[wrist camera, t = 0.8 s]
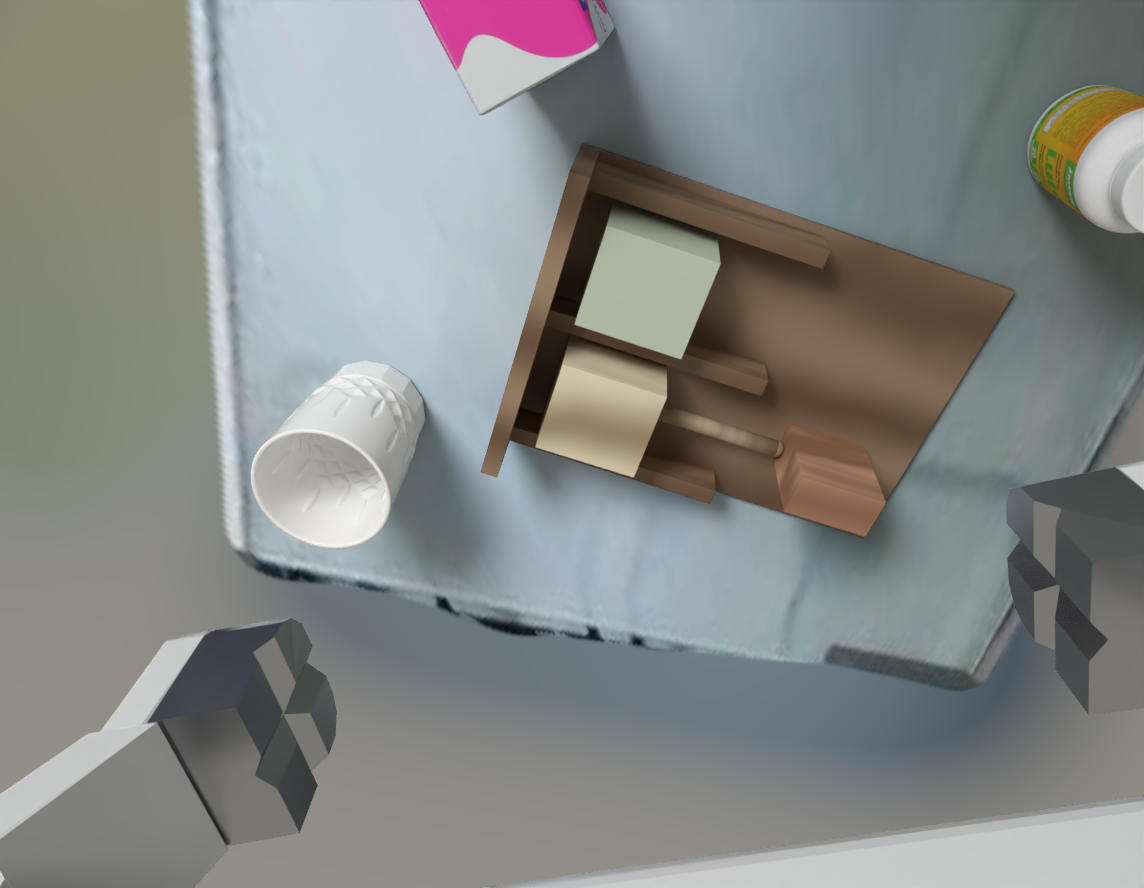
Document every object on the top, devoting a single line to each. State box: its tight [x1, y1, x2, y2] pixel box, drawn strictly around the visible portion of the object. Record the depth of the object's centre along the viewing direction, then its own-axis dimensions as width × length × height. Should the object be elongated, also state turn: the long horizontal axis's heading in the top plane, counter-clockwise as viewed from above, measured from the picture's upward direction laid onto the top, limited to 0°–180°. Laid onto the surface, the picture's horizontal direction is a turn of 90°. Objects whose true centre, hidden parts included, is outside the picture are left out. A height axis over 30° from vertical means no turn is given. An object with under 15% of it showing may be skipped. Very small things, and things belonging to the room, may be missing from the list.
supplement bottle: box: [1027, 85, 1144, 234], centre depth 40 cm, size 5×5×10 cm
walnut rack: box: [481, 143, 1015, 538], centre depth 49 cm, size 18×25×6 cm
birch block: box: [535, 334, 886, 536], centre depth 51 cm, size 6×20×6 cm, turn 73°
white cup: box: [251, 360, 425, 549], centre depth 52 cm, size 8×8×10 cm
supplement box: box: [419, 0, 615, 115], centre depth 38 cm, size 6×6×12 cm
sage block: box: [574, 199, 721, 359], centre depth 47 cm, size 6×6×5 cm
